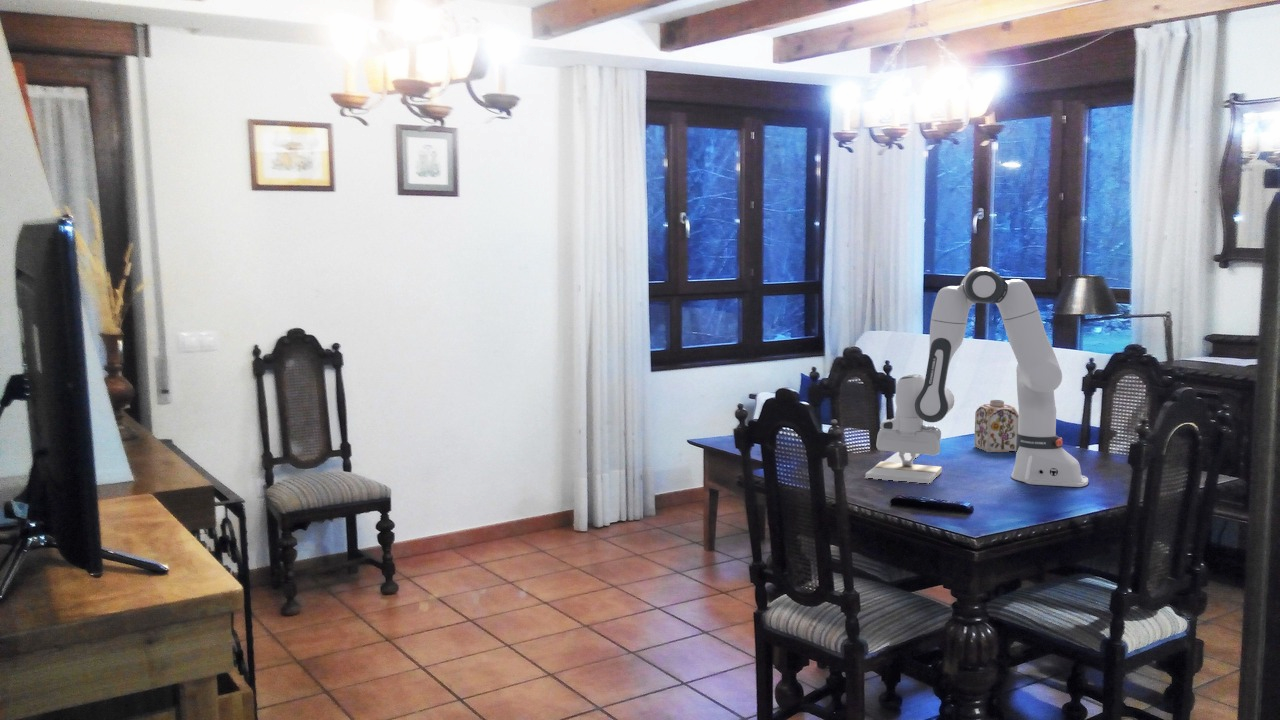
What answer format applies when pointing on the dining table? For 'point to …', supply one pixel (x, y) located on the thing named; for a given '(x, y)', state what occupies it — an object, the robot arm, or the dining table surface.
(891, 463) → the birch plank
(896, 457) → the baseboard
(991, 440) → the decorative jar
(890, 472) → the white board
